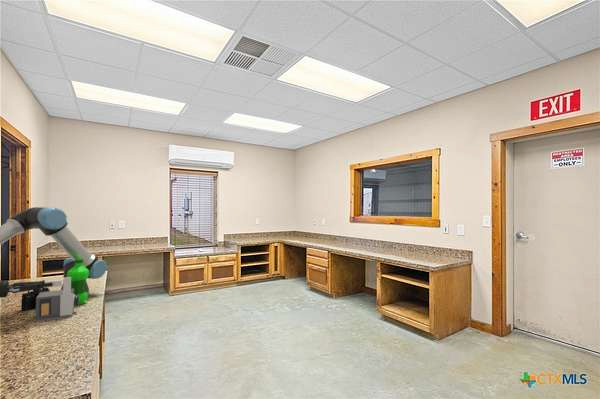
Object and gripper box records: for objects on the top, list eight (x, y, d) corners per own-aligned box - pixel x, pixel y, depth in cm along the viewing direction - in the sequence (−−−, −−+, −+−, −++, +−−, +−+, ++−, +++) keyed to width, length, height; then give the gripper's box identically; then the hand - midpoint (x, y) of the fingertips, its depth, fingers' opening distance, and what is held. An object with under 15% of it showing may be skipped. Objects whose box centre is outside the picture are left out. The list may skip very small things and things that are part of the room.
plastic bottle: (88, 300, 179) (89, 257, 180) (88, 304, 171) (89, 259, 172) (66, 303, 174) (67, 259, 175) (65, 308, 165) (67, 261, 166)
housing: (39, 314, 156) (40, 292, 156) (79, 308, 165) (79, 287, 165) (34, 322, 144) (35, 298, 145) (77, 315, 153) (77, 293, 154)
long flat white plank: (60, 315, 150) (61, 277, 151) (72, 313, 153) (73, 276, 154) (59, 316, 149) (60, 278, 150) (72, 314, 152) (73, 277, 153)
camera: (34, 312, 159) (35, 293, 159) (18, 311, 160) (18, 292, 161) (60, 304, 172) (60, 286, 173) (44, 303, 174) (44, 285, 174)
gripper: (-1, 294, 143) (62, 287, 156) (-10, 301, 132) (59, 293, 145) (-1, 278, 143) (63, 273, 156) (-9, 284, 132) (60, 277, 145)
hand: (61, 282), depth 151 cm, fingers closed
